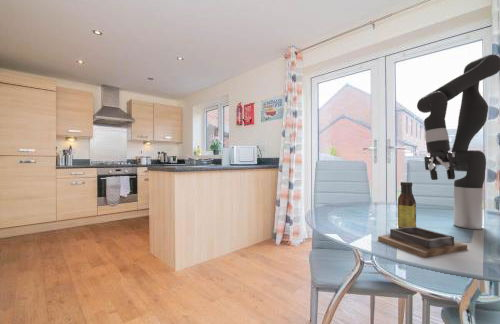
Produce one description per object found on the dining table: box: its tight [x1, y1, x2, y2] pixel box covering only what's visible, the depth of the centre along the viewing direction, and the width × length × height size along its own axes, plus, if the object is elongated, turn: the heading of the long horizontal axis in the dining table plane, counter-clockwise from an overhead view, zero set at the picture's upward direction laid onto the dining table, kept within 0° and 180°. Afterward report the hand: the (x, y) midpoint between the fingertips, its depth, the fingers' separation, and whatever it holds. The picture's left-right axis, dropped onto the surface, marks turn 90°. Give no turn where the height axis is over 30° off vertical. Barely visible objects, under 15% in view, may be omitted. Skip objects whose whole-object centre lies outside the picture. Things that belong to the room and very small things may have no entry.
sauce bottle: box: [397, 181, 417, 228], centre depth 96 cm, size 6×6×20 cm
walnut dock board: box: [377, 226, 468, 259], centre depth 80 cm, size 20×16×4 cm
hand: (442, 179), depth 97 cm, fingers open, 8 cm apart
